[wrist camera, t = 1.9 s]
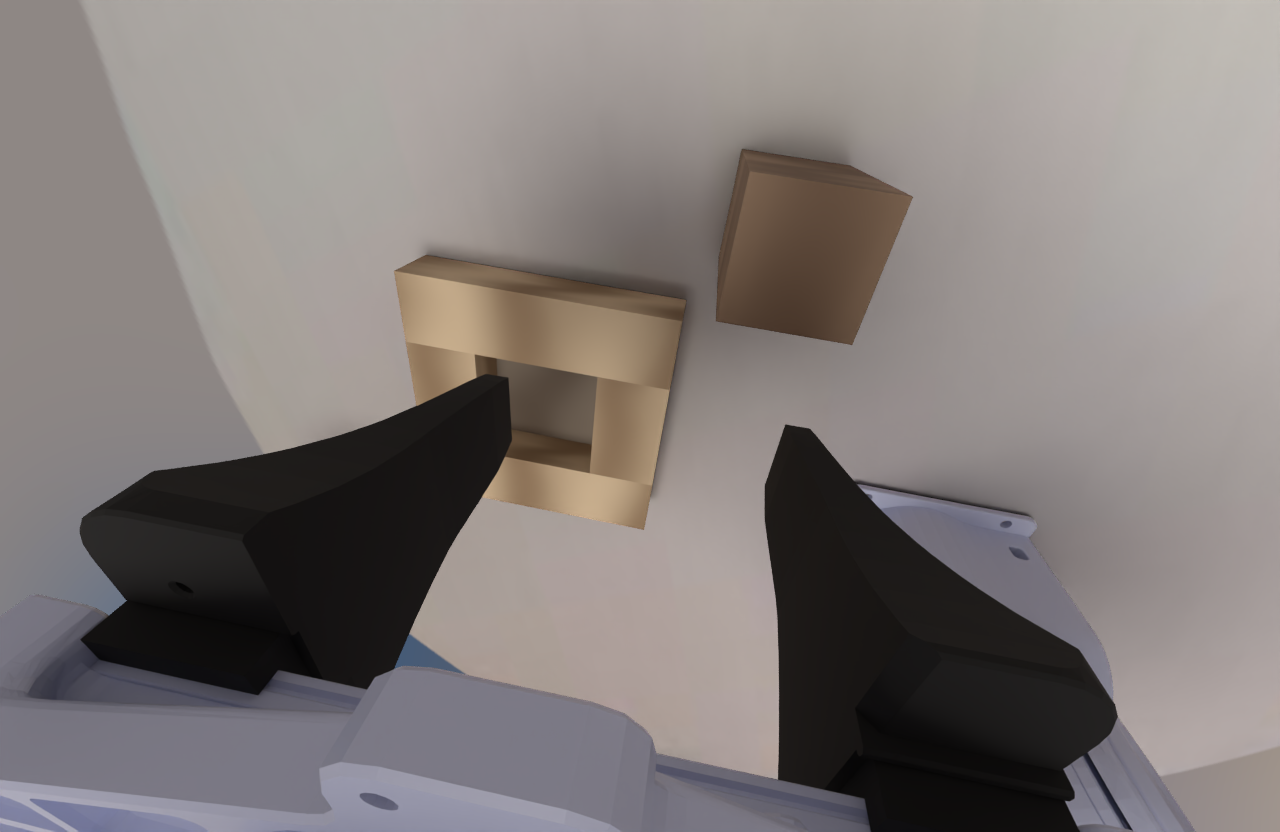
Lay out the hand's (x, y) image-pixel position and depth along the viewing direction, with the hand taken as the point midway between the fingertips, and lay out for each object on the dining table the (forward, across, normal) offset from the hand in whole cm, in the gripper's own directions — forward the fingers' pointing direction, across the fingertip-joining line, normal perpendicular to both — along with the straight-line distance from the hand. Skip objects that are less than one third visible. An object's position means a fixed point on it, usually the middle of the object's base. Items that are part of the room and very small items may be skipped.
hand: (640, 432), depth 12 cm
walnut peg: (+10, -4, -4) cm, 12 cm away
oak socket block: (+10, +6, +6) cm, 13 cm away
